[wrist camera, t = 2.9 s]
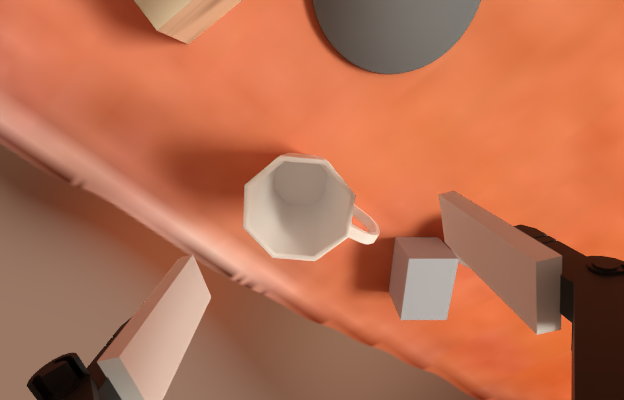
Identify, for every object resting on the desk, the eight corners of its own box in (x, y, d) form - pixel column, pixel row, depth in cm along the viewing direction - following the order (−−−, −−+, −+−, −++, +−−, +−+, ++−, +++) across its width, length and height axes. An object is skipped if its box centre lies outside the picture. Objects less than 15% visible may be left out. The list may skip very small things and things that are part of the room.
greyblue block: (394, 236, 27) (409, 258, 24) (437, 236, 28) (458, 258, 24) (388, 291, 29) (400, 319, 26) (428, 291, 30) (446, 319, 26)
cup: (282, 119, 24) (270, 130, 16) (387, 177, 25) (422, 211, 18) (245, 193, 26) (220, 234, 18) (345, 242, 27) (360, 298, 20)
